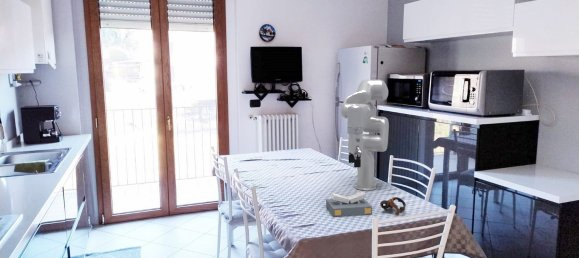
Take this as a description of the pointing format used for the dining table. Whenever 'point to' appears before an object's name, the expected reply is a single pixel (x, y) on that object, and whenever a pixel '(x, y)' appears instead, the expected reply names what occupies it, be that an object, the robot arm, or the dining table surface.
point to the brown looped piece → (393, 205)
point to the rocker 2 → (357, 197)
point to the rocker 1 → (340, 198)
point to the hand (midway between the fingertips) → (354, 165)
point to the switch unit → (348, 208)
